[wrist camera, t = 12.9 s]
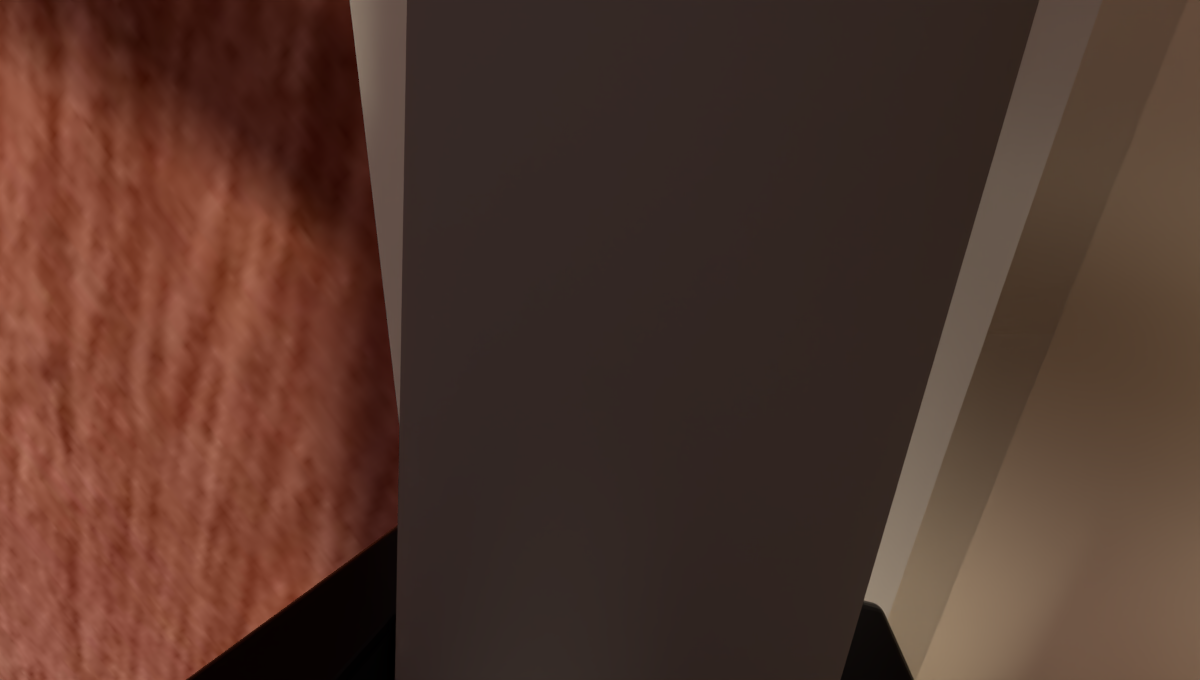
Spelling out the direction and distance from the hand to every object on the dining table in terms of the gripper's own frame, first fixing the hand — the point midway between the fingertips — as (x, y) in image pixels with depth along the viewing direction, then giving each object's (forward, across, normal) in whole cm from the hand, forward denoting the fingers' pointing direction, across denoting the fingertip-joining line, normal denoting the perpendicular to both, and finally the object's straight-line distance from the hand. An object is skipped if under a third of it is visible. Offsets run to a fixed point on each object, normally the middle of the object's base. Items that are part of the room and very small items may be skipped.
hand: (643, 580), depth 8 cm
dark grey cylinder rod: (-2, 0, +1) cm, 2 cm away
